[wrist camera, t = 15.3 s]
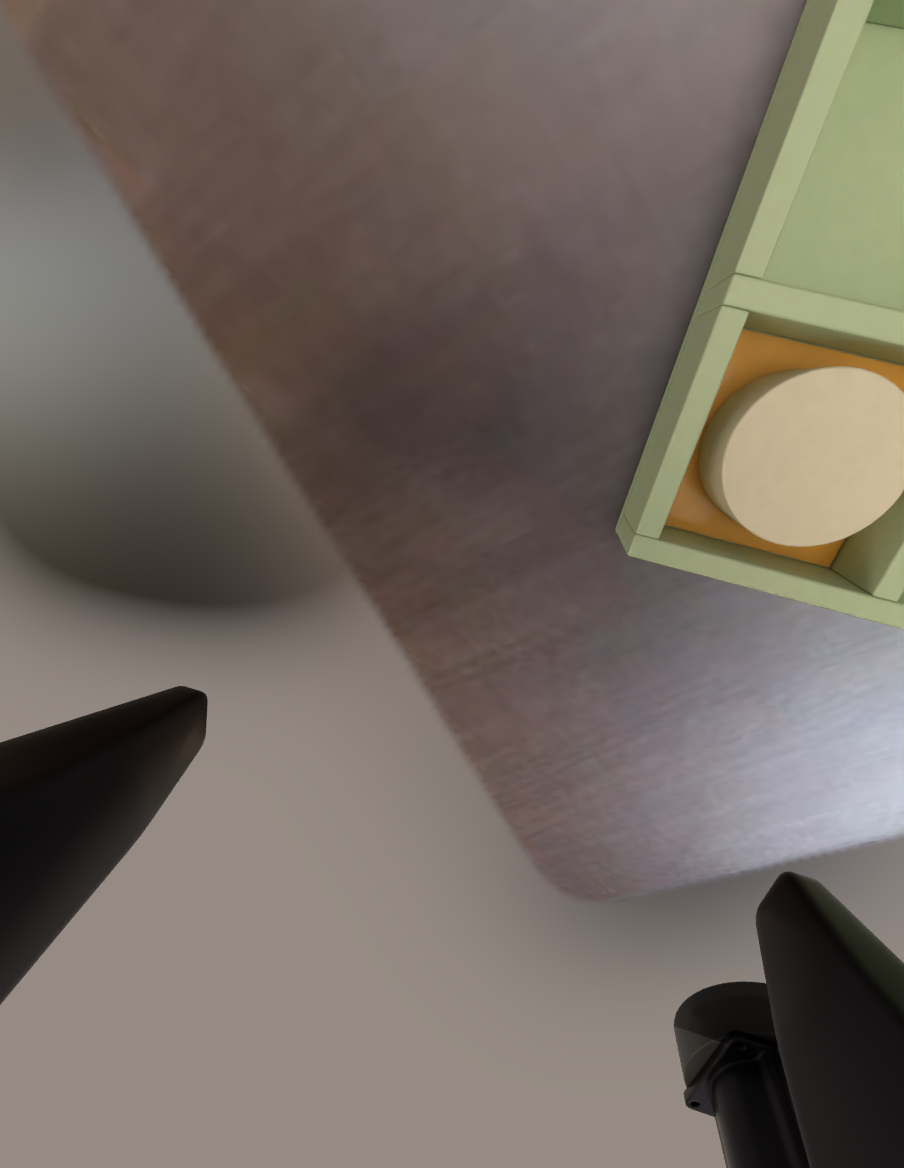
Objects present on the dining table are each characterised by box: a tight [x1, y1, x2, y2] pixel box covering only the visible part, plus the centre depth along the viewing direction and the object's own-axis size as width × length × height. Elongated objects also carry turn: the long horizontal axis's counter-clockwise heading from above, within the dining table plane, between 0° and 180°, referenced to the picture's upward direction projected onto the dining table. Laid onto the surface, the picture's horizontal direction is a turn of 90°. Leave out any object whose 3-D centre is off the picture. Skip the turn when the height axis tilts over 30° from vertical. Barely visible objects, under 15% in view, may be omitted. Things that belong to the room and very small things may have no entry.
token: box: [699, 366, 904, 547], centre depth 15 cm, size 5×5×2 cm
